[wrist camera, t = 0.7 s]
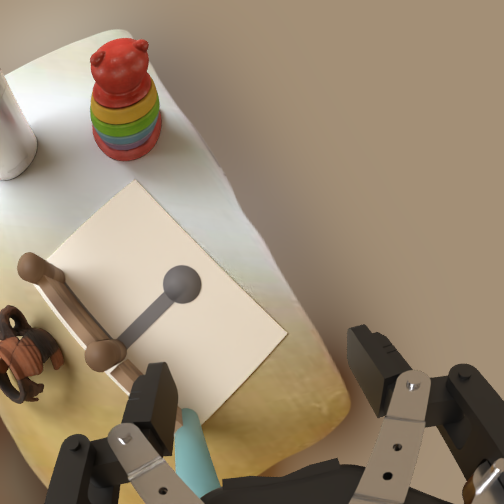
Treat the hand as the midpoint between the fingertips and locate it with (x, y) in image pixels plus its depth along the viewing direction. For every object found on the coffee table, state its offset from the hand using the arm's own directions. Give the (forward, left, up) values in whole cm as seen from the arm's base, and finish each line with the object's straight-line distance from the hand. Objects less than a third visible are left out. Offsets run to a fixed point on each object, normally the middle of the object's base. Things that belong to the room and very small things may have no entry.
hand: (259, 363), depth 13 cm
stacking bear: (-29, +12, -26) cm, 40 cm away
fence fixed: (-13, -9, -25) cm, 30 cm away
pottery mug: (-15, -19, -26) cm, 35 cm away
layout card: (-7, -2, -26) cm, 27 cm away
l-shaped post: (+1, -9, -25) cm, 26 cm away
